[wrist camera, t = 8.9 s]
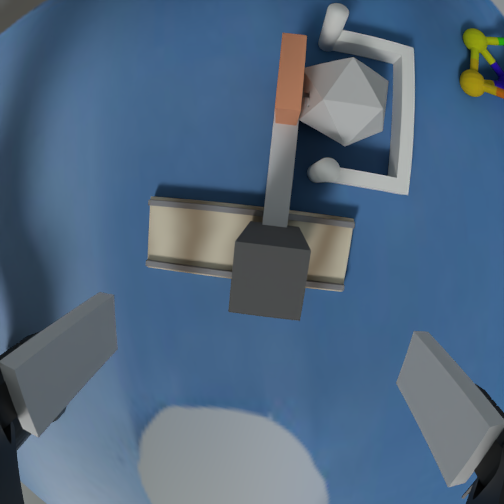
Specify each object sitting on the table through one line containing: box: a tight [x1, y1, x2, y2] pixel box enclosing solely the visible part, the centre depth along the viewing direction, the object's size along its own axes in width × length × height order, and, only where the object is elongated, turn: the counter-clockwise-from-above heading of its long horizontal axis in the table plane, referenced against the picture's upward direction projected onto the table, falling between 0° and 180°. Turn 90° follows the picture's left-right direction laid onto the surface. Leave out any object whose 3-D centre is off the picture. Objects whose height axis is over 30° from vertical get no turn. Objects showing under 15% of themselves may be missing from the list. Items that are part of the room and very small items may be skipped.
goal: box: [307, 3, 415, 195], centre depth 26 cm, size 10×18×8 cm, turn 174°
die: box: [299, 57, 388, 146], centre depth 27 cm, size 8×9×10 cm
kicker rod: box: [229, 33, 311, 321], centre depth 26 cm, size 5×22×13 cm, turn 174°
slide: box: [146, 196, 355, 292], centre depth 33 cm, size 22×8×2 cm, turn 84°
